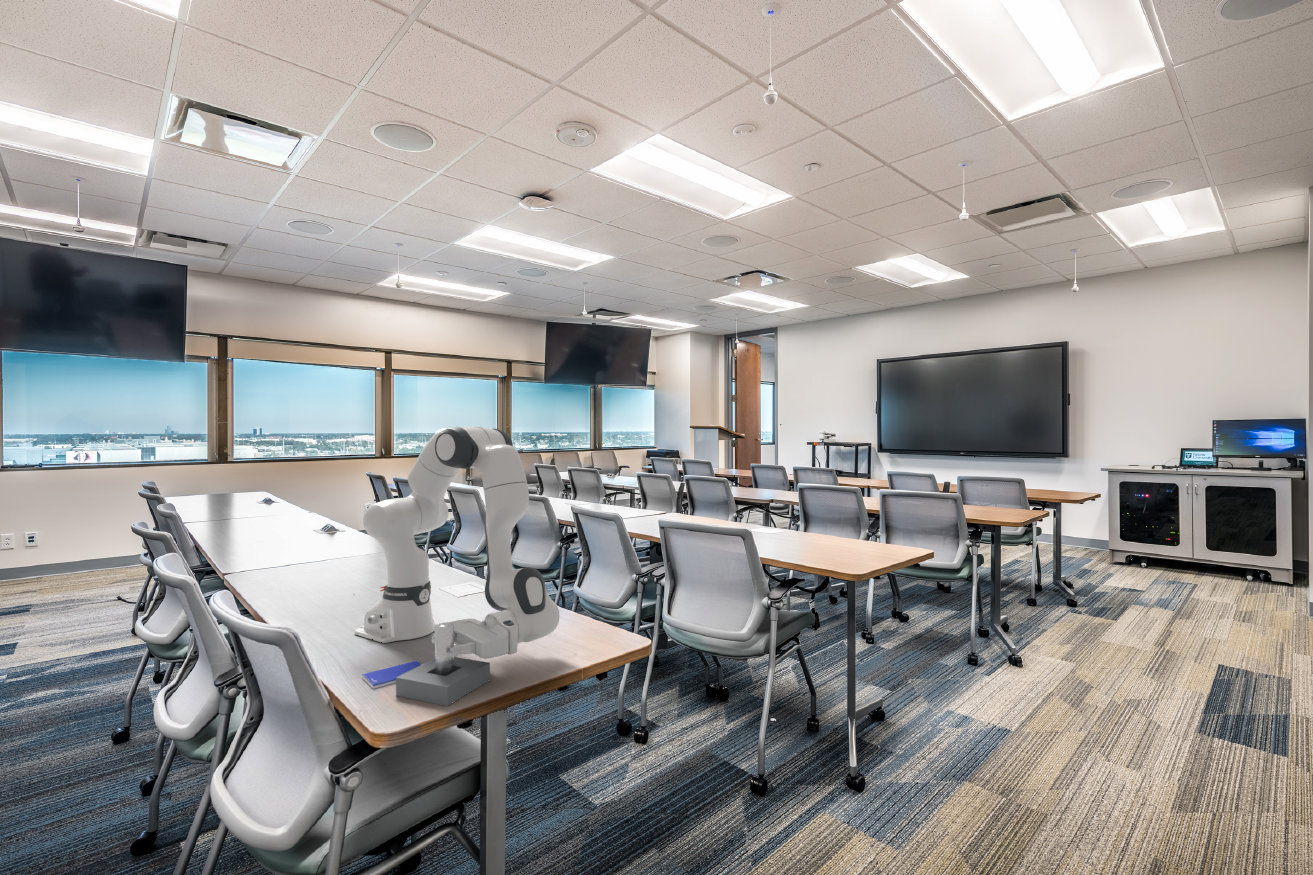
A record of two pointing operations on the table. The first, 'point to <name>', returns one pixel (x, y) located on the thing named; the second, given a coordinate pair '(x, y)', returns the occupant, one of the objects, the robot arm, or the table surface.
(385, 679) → the hard drive
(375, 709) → the table surface
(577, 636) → the table surface
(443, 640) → the post
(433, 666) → the socket base
